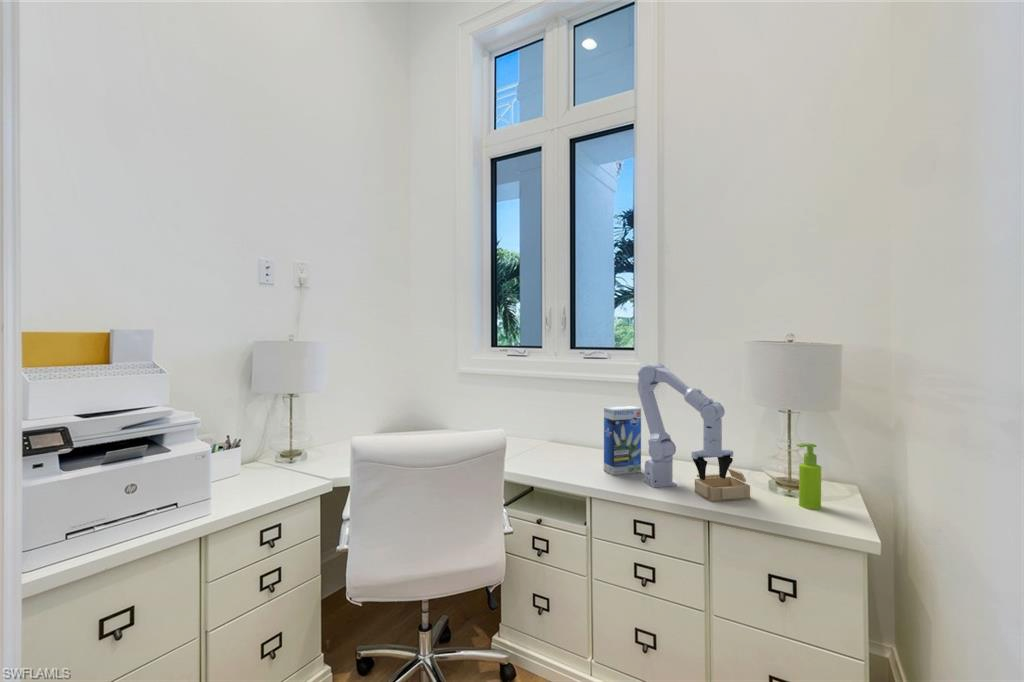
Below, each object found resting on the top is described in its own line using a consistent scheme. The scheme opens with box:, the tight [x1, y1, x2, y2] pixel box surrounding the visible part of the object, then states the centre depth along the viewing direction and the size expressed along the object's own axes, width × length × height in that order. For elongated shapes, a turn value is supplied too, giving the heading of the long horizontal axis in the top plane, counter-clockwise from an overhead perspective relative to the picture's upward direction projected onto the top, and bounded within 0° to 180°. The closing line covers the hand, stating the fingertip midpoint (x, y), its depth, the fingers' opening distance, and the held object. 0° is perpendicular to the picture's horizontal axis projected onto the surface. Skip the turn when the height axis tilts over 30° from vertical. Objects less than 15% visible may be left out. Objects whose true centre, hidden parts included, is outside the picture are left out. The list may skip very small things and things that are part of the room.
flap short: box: [727, 466, 747, 483], centre depth 158 cm, size 1×7×4 cm, turn 11°
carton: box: [694, 475, 751, 503], centre depth 156 cm, size 15×11×5 cm
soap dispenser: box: [796, 442, 822, 511], centre depth 147 cm, size 6×7×20 cm
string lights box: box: [603, 405, 642, 476], centre depth 185 cm, size 13×8×26 cm, turn 109°
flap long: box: [696, 473, 720, 479], centre depth 164 cm, size 8×1×4 cm
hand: (712, 478), depth 156 cm, fingers open, 7 cm apart
